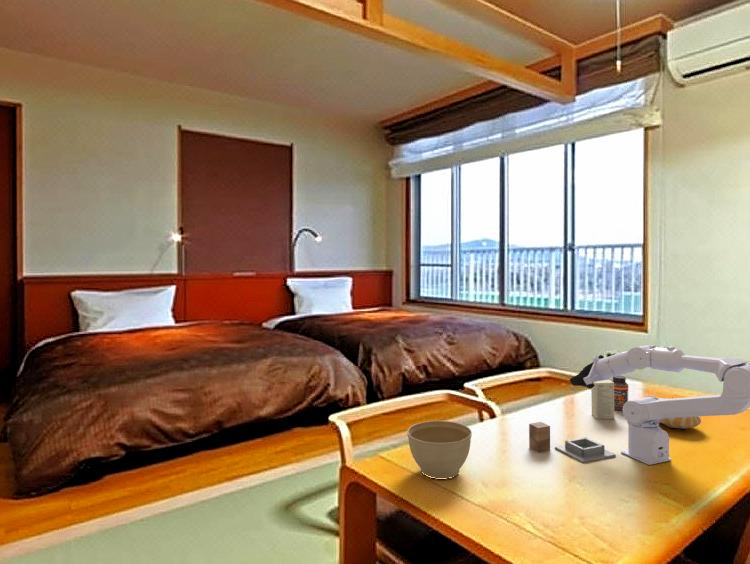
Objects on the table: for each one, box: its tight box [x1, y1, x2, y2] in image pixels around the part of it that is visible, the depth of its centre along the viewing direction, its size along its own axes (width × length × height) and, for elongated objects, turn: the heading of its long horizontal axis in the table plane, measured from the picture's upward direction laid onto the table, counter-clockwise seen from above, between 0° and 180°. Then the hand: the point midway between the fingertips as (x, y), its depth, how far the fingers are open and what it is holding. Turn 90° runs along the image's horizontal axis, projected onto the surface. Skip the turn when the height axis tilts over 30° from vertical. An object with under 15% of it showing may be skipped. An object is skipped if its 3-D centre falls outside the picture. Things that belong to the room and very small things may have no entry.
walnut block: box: [528, 421, 551, 454], centre depth 147 cm, size 4×4×7 cm
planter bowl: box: [406, 420, 472, 478], centre depth 133 cm, size 16×16×11 cm
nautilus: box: [659, 416, 702, 430], centre depth 165 cm, size 8×22×15 cm
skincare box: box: [590, 379, 615, 420], centre depth 174 cm, size 6×4×12 cm
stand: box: [554, 437, 617, 464], centre depth 144 cm, size 11×11×3 cm
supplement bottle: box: [611, 375, 629, 412], centre depth 182 cm, size 6×6×11 cm
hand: (578, 376), depth 158 cm, fingers open, 7 cm apart
